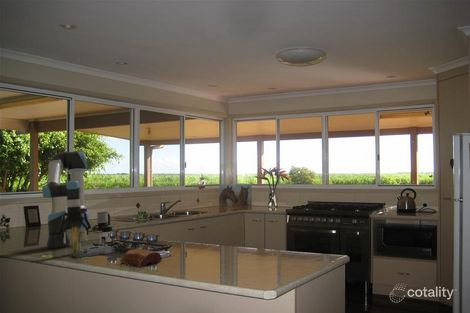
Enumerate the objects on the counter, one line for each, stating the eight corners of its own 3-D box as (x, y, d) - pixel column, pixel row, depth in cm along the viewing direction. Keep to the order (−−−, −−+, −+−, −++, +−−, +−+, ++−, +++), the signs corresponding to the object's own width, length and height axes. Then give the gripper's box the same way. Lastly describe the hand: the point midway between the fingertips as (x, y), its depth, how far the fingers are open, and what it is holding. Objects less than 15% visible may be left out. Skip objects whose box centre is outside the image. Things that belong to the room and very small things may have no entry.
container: (110, 247, 291) (109, 226, 291) (99, 247, 292) (98, 227, 293) (116, 244, 298) (115, 225, 299) (105, 245, 300) (104, 225, 300)
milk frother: (107, 230, 379) (106, 212, 379) (88, 231, 379) (87, 213, 379) (111, 227, 393) (111, 210, 393) (93, 228, 393) (93, 211, 393)
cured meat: (140, 256, 255) (139, 244, 255) (168, 260, 238) (167, 247, 238) (112, 263, 241) (111, 250, 241) (140, 268, 225) (139, 254, 225)
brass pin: (72, 253, 276) (71, 227, 277) (78, 252, 278) (76, 226, 278) (73, 253, 273) (72, 227, 274) (79, 253, 275) (78, 226, 275)
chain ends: (73, 255, 268) (72, 249, 268) (110, 250, 279) (110, 244, 280) (76, 258, 259) (76, 251, 259) (115, 252, 271) (114, 246, 271)
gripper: (53, 208, 267) (55, 245, 266) (95, 204, 279) (97, 239, 279) (51, 207, 273) (53, 243, 273) (92, 204, 286) (94, 238, 285)
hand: (75, 241), depth 276 cm, fingers open, 12 cm apart
